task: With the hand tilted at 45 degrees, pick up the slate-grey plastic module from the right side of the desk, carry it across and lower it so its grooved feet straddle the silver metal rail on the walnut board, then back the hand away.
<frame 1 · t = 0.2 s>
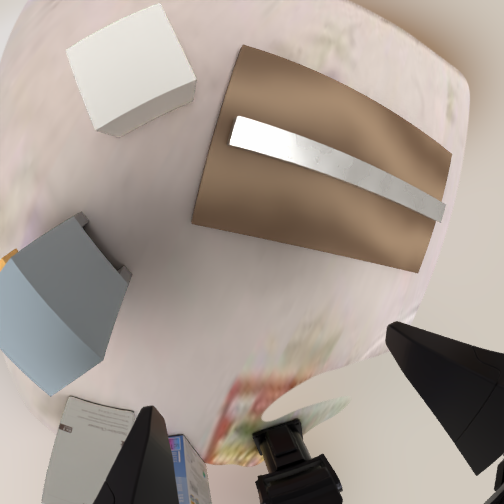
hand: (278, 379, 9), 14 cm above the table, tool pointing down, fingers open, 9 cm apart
ink cartridge box: (176, 451, 30), on the table
module: (83, 263, 20), on the table
rail board: (351, 174, 23), on the table
white cube: (141, 86, 17), on the table
skincare box: (100, 416, 25), on the table
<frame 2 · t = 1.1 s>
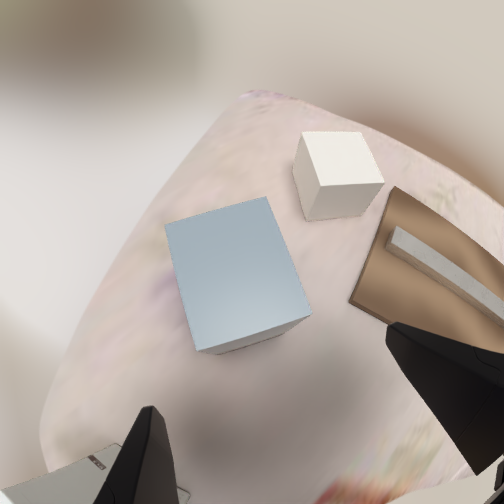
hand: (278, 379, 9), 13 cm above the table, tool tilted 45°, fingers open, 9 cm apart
module: (237, 307, 23), on the table
rail board: (459, 293, 24), on the table
white cube: (325, 194, 28), on the table
skincare box: (136, 485, 17), on the table
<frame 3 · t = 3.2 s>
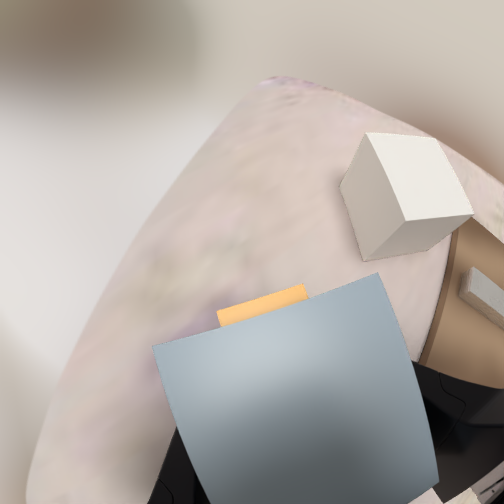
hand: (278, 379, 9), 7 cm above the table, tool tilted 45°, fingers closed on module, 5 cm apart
module: (272, 393, 15), on the table, touching gripper
white cube: (384, 220, 19), on the table
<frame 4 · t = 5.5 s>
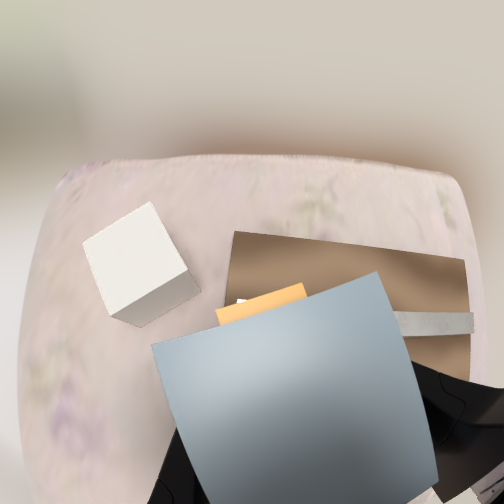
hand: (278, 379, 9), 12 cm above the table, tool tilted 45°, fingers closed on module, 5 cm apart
module: (271, 392, 15), point 6 cm above the table, touching gripper
rail board: (367, 327, 22), on the table
white cube: (155, 281, 23), on the table
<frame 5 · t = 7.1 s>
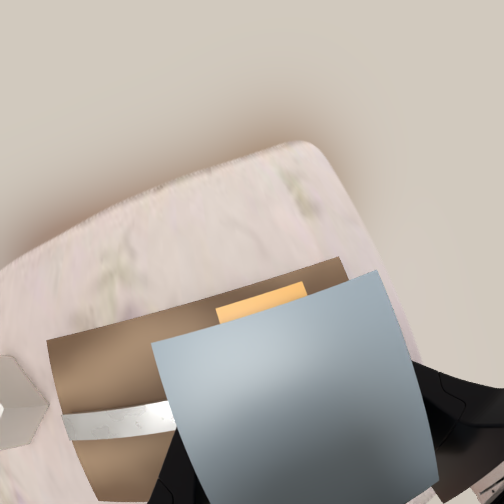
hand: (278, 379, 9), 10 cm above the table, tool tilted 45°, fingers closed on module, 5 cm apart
module: (271, 392, 15), point 3 cm above the table, touching gripper
rail board: (211, 401, 17), on the table
white cube: (21, 401, 16), on the table
when the fingers open (9 cm above the table, at t = 8.2 s): module drops 1 cm, resting on rail board.
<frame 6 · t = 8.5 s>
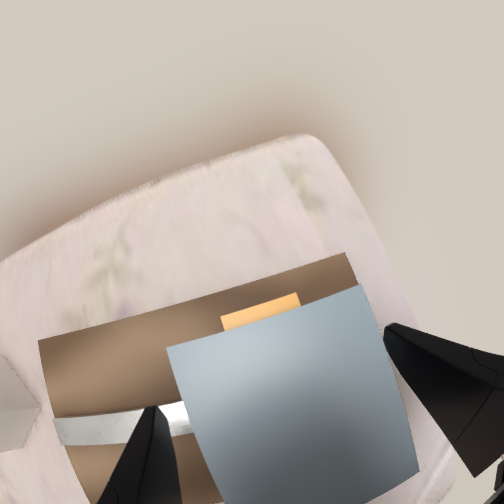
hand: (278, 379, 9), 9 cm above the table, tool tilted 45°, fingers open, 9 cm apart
module: (270, 390, 16), point 1 cm above the table, touching rail board
rail board: (209, 406, 16), on the table
white cube: (13, 403, 14), on the table
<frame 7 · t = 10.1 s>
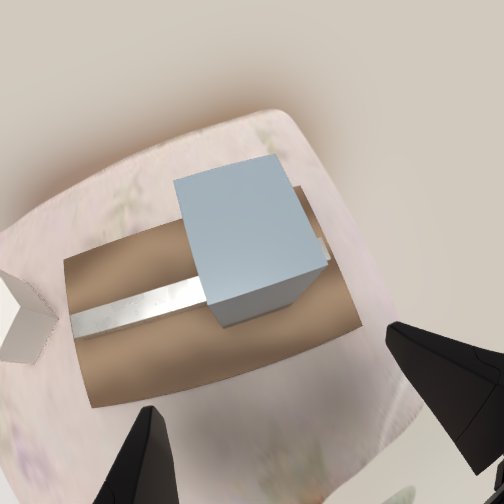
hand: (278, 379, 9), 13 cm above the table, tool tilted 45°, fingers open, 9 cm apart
module: (243, 279, 23), point 1 cm above the table, touching rail board
rail board: (197, 297, 23), on the table
white cube: (31, 323, 21), on the table
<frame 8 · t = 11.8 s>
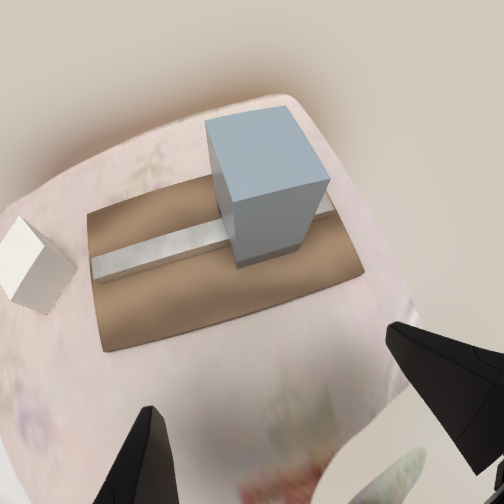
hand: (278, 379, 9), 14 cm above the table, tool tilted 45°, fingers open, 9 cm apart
module: (256, 227, 25), point 1 cm above the table, touching rail board
rail board: (213, 244, 25), on the table
white cube: (48, 276, 24), on the table
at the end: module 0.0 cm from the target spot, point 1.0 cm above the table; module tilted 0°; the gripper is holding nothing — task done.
